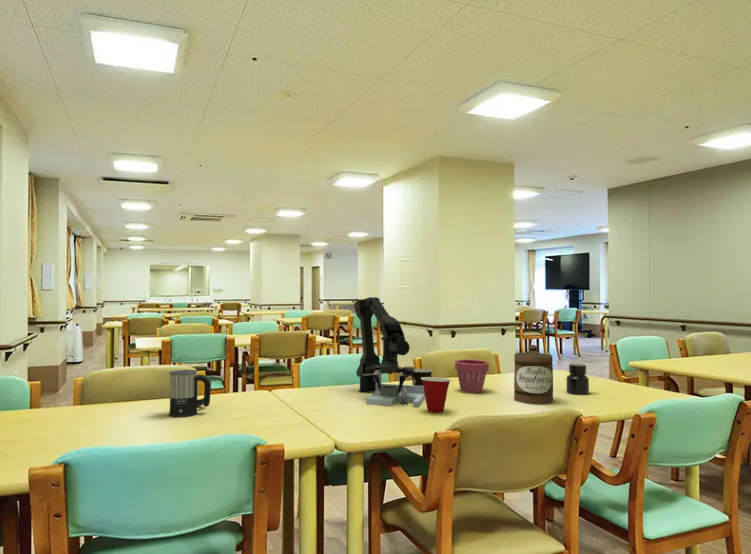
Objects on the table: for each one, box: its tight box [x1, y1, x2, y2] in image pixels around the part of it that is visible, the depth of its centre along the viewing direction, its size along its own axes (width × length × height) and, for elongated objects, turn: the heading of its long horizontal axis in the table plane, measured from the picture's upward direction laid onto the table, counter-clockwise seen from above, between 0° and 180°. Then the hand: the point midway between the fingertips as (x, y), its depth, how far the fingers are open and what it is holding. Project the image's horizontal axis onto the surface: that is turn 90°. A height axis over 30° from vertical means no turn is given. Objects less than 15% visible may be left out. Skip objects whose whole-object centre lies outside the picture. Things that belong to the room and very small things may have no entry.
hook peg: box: [401, 388, 408, 405], centre depth 202 cm, size 2×2×6 cm
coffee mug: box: [411, 368, 433, 386], centre depth 222 cm, size 12×9×10 cm
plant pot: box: [454, 359, 490, 394], centre depth 229 cm, size 14×14×13 cm
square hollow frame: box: [380, 385, 400, 397], centre depth 210 cm, size 6×6×3 cm
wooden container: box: [513, 344, 554, 405], centre depth 211 cm, size 15×15×22 cm
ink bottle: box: [566, 363, 590, 395], centre depth 227 cm, size 10×9×12 cm
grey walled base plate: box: [365, 383, 425, 408], centre depth 207 cm, size 20×16×5 cm
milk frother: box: [168, 369, 212, 418], centre depth 188 cm, size 14×16×15 cm
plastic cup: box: [421, 376, 452, 414], centre depth 192 cm, size 11×11×12 cm
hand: (389, 392), depth 210 cm, fingers open, 7 cm apart
